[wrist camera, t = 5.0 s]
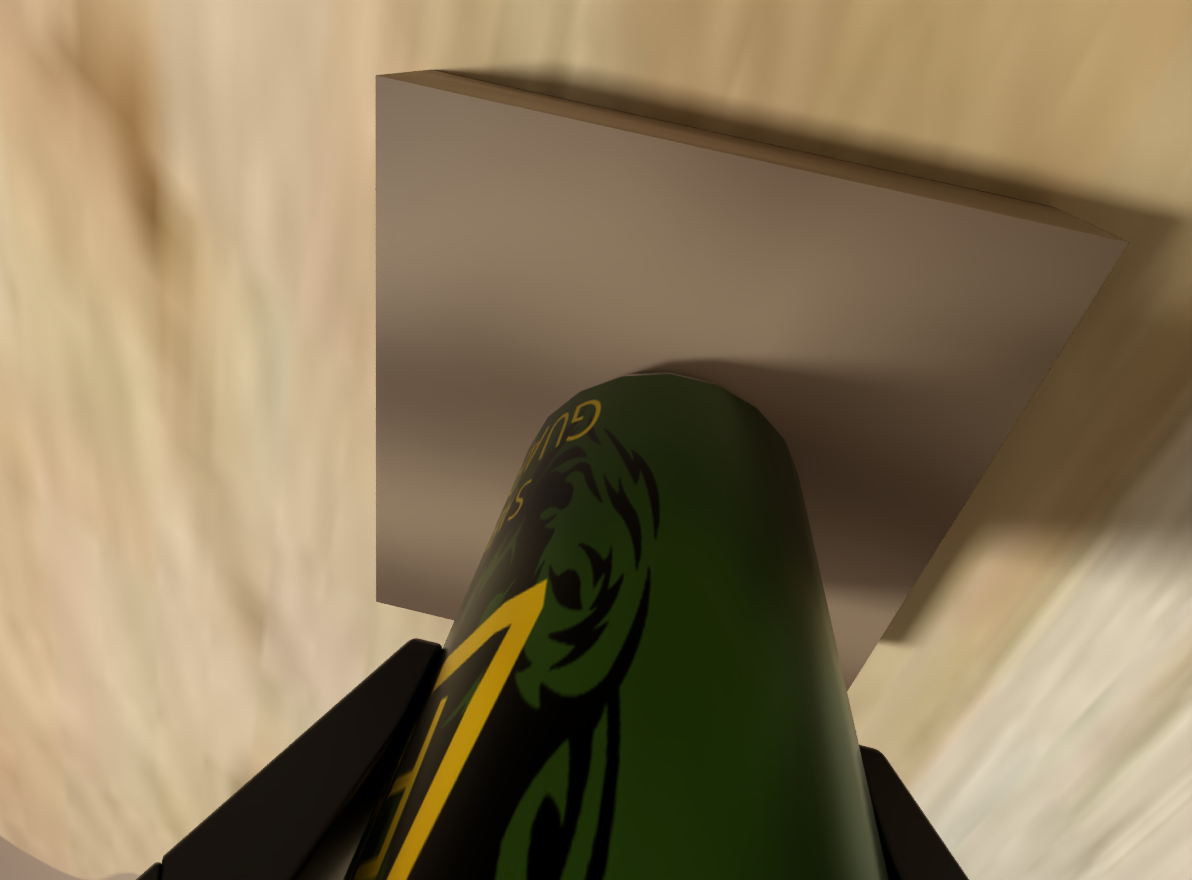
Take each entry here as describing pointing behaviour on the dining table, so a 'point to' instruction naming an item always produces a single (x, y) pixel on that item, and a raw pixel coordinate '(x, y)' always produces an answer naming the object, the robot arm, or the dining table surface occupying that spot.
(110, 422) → the dining table surface
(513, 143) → the walnut block
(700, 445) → the beer can
